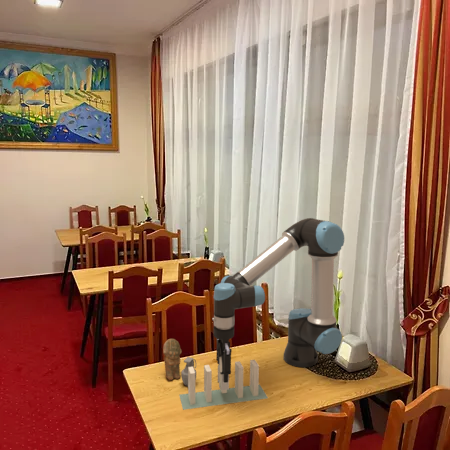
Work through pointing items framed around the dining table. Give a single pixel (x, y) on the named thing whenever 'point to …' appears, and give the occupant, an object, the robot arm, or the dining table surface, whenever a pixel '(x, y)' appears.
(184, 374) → the hand grenade
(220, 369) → the domino
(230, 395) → the strip
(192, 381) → the domino
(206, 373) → the domino
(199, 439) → the dining table surface
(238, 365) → the domino
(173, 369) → the figurine
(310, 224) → the robot arm
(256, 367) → the domino
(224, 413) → the dining table surface
